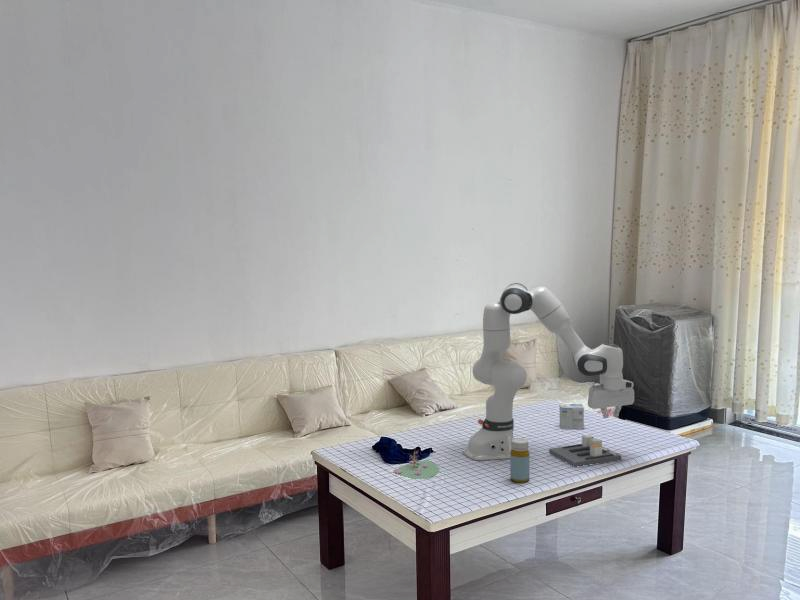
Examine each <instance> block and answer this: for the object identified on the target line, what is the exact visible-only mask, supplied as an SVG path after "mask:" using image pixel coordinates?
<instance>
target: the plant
mask: <svg viewBox="0 0 800 600" xmlns="http://www.w3.org/2000/svg"><path fill="white" fill-rule="evenodd" d="M418 453H419V451H418V450H416V447H415V448H414V452H413V455H412V454H410V455H409V461H408V462H409V464H406V465H404V466H402V467H399V468H398V469H395V470H393V471H394V472H393V473H395V474H398V475H400V476H404V477H408V478H411V479H420V480H427V479H429V478H433V477H435V476H436V475H438V473H439V471H440V468H439V466H438V464H437V463H436V462H434V461H432V460H419V457H420V456H419V455H418Z"/></svg>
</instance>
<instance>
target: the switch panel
mask: <svg viewBox="0 0 800 600" xmlns="http://www.w3.org/2000/svg"><path fill="white" fill-rule="evenodd" d="M597 443H598V444H600V445H602V456H595V457H593V456H591V455H590V444H597ZM548 450H549V451H548V454H549V453H550V455H551V456H553V457H555V458H557V459H558V458H559V459H558V460H560V459H561V460H560V461H562V460H563V461H562V462H564V461H565V462H567V463H568V464H567V463H566V464H567V465H569V464H570V465H569V466H571V465H572V466H571V467H573V466H574V467H575V468H578V467H577V466H582V467H584V466H583V465H588V466H591V465H590V464H594V465H597V464H596V463H601V464H605V463H604V462H607V463H612V462H611V461H613V462H619V461H622V455H621V454H619V453H617V452H615V451H613V450H611V449H609V448H607V447H604V446H603V440H602V439H600V438H598V437H597V438H594V436H593V435H591V434H586V435H585V434H584V435H581V443H580V444H572V445H571V444H570V445H565V446H558V447H551V448H549V449H548ZM618 460H619V461H618ZM565 462H564V463H565ZM574 467H573V468H574Z"/></svg>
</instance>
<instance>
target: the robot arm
mask: <svg viewBox="0 0 800 600" xmlns="http://www.w3.org/2000/svg"><path fill="white" fill-rule="evenodd" d="M528 311H531V312H532V313H533V314H534V315H535V316H536V317H537V319H538V320H539V322H540V323H541V324H542V325H543V326H544V327H545V328H546V329H547V330H548V331H549V332H551V333H552V334H555V335H556V336H558V337H559V338H560V339H561V341H563V343H564V345H566V347H567V348H568V350H569V351H570V353H571V354H572V359H573V363H574V365H575V367H576V368H577V369H578V371H579V373H581V374H582V375H583V376H587V377H593V376H599V384H594V385H592V386H591V387H589V389H588V397H587V406H588V408H590V409H592V410H597V409H600V411H601V413H602V418H604V419H609V417H610V415H609V413H607V408H612V407H614V408H615V409H614V411H613V412H612V417H614V418H617V417H619V415H620V412H621V409H622V407H623V406H628V405H633V404H634V402H635V390H634V382H633V381H630V380H628V379H625V378H624V376H623V368H624V356H623V355H624V354H623V350H622V348H621V346H620V345H618V344H614V343H609V342H603V343H601V344H600V345H599V346H597V347H595V348H592V347H590V346H588V345H587V344H585V343H584V342H583V340H582V339H581V338H580V336H579V335H578V334H577V332H576V331H575V330H574V328H573V326H572V322H571V318H570V316H569V313H568V312H567V310H566V308H565V306H564V305H563V303H562V302H561V301H560V299H559V298H558V297H557V296H556V295H555V294H554V293H553V292H552V291H551V290H550V289H549V288H547V287H545V286H543V285H542V286H537V287H535V288H533V289H531V290H528V289H527V287H526V286H525V285H524V284H521V283H518V282H515V283H511V284H509V285H506V287H505V288H504V289H503V291H502V293H501V296H500V298H499V300H498V301H497V300H496V301H491V302H489V303H487V304H486V305H485V306H484V310H483V314H482V316H483V317H482V331H483V332H482V333H483V334H482V336H483V337H482V339H483V347H482V353H481V355H480V356H479V358H478V360H476V361H475V363H474V364H473V366H472V375H473V378H474V380H476V381H477V382H479V383H482V384H483V385H488V386H493V387H494V393H493V395H491V396H489V397H488V398H487V399H486V402H485V419H484V420H483V419H481V418H479V419H478V420H477V423H478V424H479V425H482V426H481V427H480V429H479V430H478V431H476V432H475V433H474V434H473V435H471V437H470V438H469V441H468V444H467V447H464V448H463V450H462V453H463V454H464V455H465V456H466V457H468V458H469V459H471V460H474V461H489V460H502V459H503V460H505V459H510V452H511V449H512V448H511V447H512V446H511V440H512V439H514V428H515V427H514V426H515V425H514V418H513V409H514V406H513V405H514V399H515V397H516V394H517V392H518V391H520V389H522V388H523V387H524V386H525V384H526V382H527V377H528V376H527V375H528V374H527V372H526V371H527V370H526V369H525V368H524V367H523V366H522V365H519V364H517V363H515V362H510V361H505V360H503V355H504V353H505V352H507V351H508V350H509V349H510V347H511V325H510V317H511V315H517V314H522V313H525V312H528Z"/></svg>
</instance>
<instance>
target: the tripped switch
mask: <svg viewBox="0 0 800 600" xmlns="http://www.w3.org/2000/svg"><path fill="white" fill-rule="evenodd" d="M602 447H603V444H602V445H600V444H598V443H597V444H590V455H591V456H593V457H595V456H602Z"/></svg>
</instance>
